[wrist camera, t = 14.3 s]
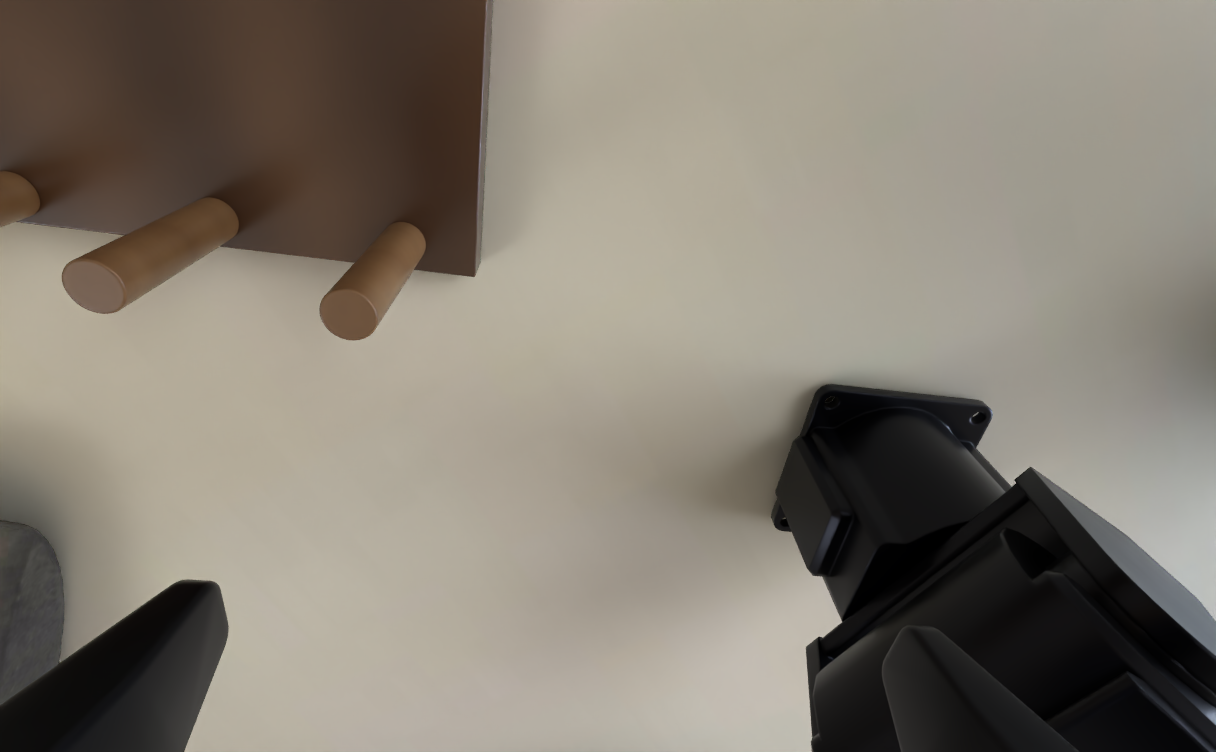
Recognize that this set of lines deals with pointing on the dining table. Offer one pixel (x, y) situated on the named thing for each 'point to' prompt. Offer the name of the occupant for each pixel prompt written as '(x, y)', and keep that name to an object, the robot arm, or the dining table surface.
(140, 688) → the robot arm
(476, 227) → the plate rack
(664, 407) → the dining table surface
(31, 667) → the decorative stone
